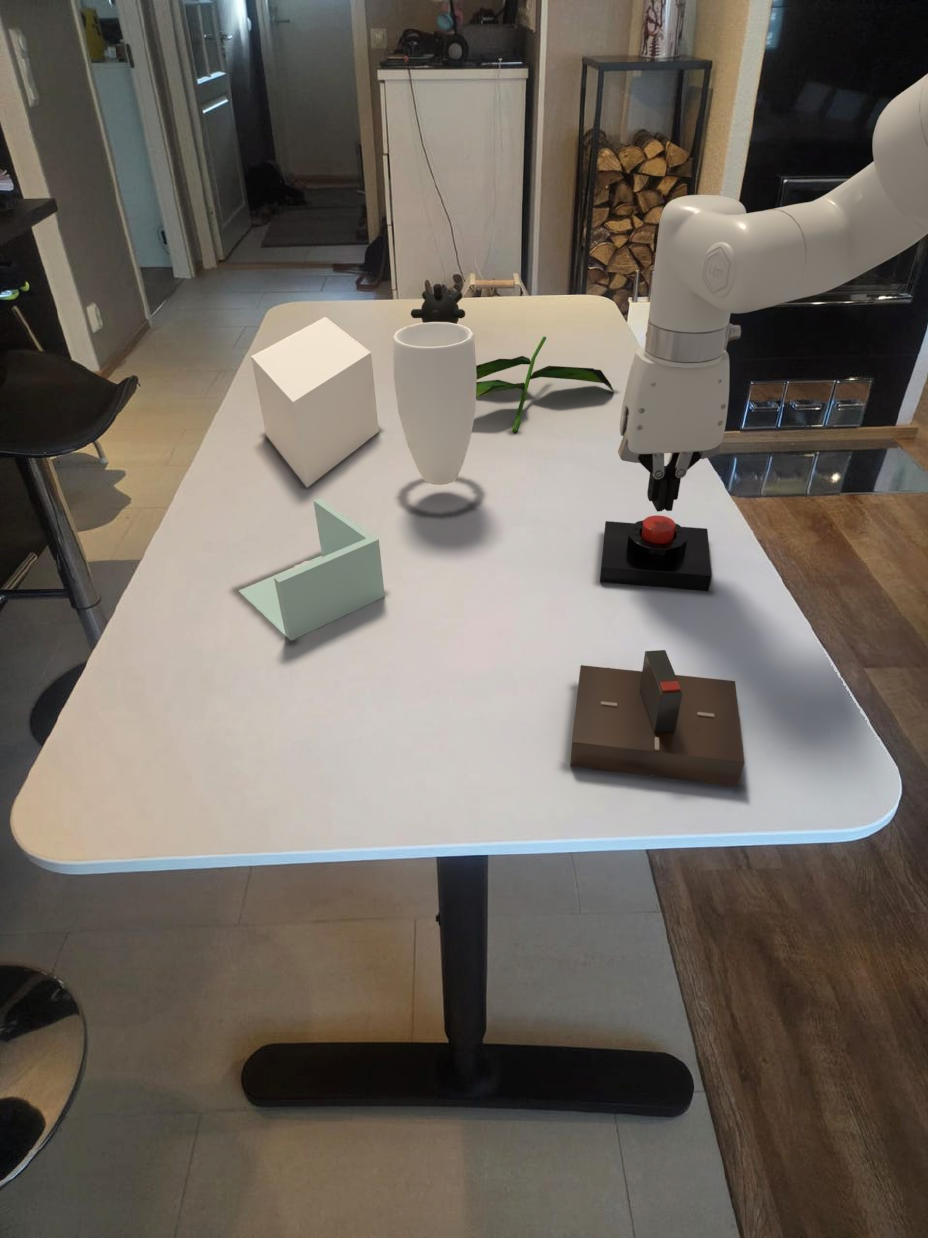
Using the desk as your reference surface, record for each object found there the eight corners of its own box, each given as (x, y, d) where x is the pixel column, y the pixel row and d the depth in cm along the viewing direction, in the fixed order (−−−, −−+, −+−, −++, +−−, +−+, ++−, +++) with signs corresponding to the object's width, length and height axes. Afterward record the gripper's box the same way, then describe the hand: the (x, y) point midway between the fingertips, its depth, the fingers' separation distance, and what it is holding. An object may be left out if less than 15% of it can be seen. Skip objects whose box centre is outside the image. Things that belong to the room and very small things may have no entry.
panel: (729, 704, 75) (735, 679, 73) (738, 787, 67) (745, 761, 65) (578, 688, 77) (580, 663, 75) (569, 766, 69) (572, 740, 67)
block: (243, 489, 110) (224, 404, 103) (284, 391, 138) (271, 318, 130) (370, 485, 110) (361, 399, 103) (385, 388, 138) (379, 314, 130)
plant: (420, 404, 132) (417, 358, 127) (540, 364, 145) (542, 321, 141) (495, 441, 120) (495, 391, 116) (618, 393, 134) (622, 347, 129)
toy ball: (482, 312, 160) (474, 314, 149) (445, 351, 164) (435, 356, 153) (444, 271, 158) (434, 270, 147) (408, 311, 162) (395, 313, 151)
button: (673, 529, 92) (675, 516, 91) (673, 546, 90) (675, 532, 89) (641, 527, 93) (643, 514, 92) (641, 543, 90) (642, 530, 89)
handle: (639, 689, 72) (645, 648, 69) (659, 687, 72) (665, 647, 69) (654, 733, 68) (661, 691, 65) (675, 731, 68) (683, 690, 65)
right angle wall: (328, 552, 97) (319, 497, 92) (384, 596, 90) (378, 539, 85) (238, 590, 91) (224, 534, 87) (290, 641, 84) (278, 582, 79)
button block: (704, 543, 96) (709, 515, 94) (708, 591, 89) (714, 561, 86) (604, 536, 98) (606, 507, 96) (599, 582, 91) (602, 552, 88)
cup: (386, 497, 107) (370, 336, 94) (441, 470, 113) (434, 314, 100) (440, 524, 102) (432, 356, 88) (496, 494, 107) (495, 332, 94)
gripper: (747, 323, 81) (716, 485, 92) (601, 330, 80) (587, 492, 92) (775, 349, 75) (738, 518, 86) (617, 357, 74) (601, 526, 86)
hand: (661, 504), depth 89 cm, fingers closed
